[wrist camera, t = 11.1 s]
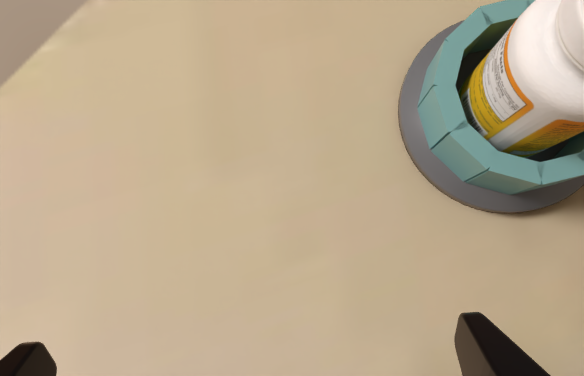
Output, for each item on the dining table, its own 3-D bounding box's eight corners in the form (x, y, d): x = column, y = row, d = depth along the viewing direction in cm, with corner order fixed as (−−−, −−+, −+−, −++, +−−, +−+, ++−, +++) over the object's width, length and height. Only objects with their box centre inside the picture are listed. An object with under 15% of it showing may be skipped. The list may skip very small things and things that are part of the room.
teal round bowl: (632, 185, 23) (696, 170, 19) (430, 234, 23) (455, 229, 19) (561, 2, 25) (606, -44, 21) (375, 47, 25) (387, 9, 21)
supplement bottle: (573, 96, 23) (765, -23, 13) (526, 181, 22) (693, 119, 13) (482, 47, 23) (602, -100, 14) (434, 128, 23) (526, 32, 13)
